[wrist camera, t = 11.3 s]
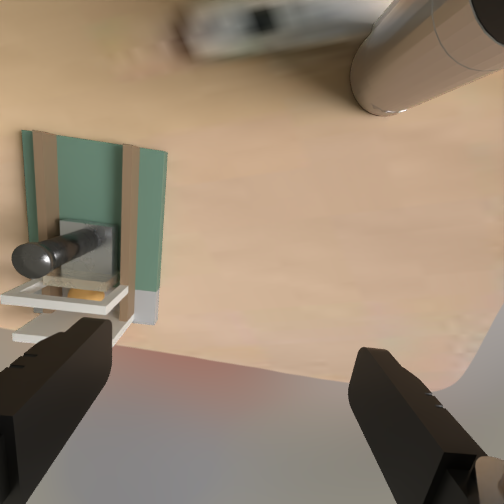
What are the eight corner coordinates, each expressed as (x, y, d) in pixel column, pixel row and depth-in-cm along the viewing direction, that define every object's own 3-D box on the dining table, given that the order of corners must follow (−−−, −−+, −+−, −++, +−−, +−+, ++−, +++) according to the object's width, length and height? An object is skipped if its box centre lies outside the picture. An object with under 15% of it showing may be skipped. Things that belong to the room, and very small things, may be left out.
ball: (65, 317, 34) (82, 292, 37) (98, 320, 34) (112, 296, 37) (55, 296, 31) (74, 271, 34) (91, 300, 31) (106, 275, 34)
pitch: (31, 132, 32) (-53, 112, 23) (167, 152, 33) (139, 142, 24) (41, 307, 38) (-23, 348, 29) (157, 319, 39) (131, 362, 30)
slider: (63, 217, 33) (-14, 234, 23) (122, 225, 34) (71, 244, 24) (65, 273, 35) (-6, 310, 25) (121, 279, 35) (73, 318, 25)
